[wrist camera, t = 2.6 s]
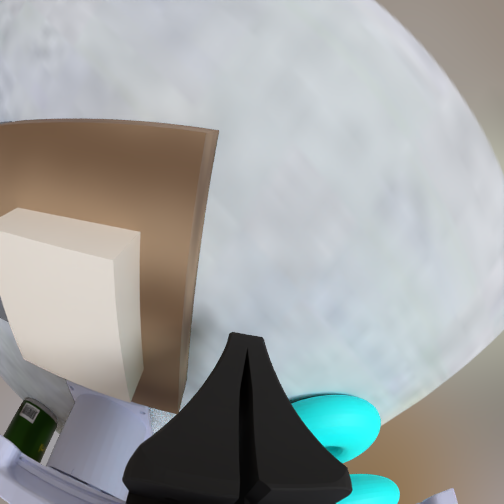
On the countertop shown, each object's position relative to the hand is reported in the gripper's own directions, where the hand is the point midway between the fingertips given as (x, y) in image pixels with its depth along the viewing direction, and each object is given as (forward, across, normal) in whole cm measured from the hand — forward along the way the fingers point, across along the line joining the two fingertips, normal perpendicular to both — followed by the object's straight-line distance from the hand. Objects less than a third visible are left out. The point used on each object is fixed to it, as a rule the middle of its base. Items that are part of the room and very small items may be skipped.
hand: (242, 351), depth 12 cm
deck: (+4, +9, 0) cm, 10 cm away
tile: (+1, +8, 0) cm, 8 cm away
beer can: (+4, +22, +24) cm, 33 cm away
